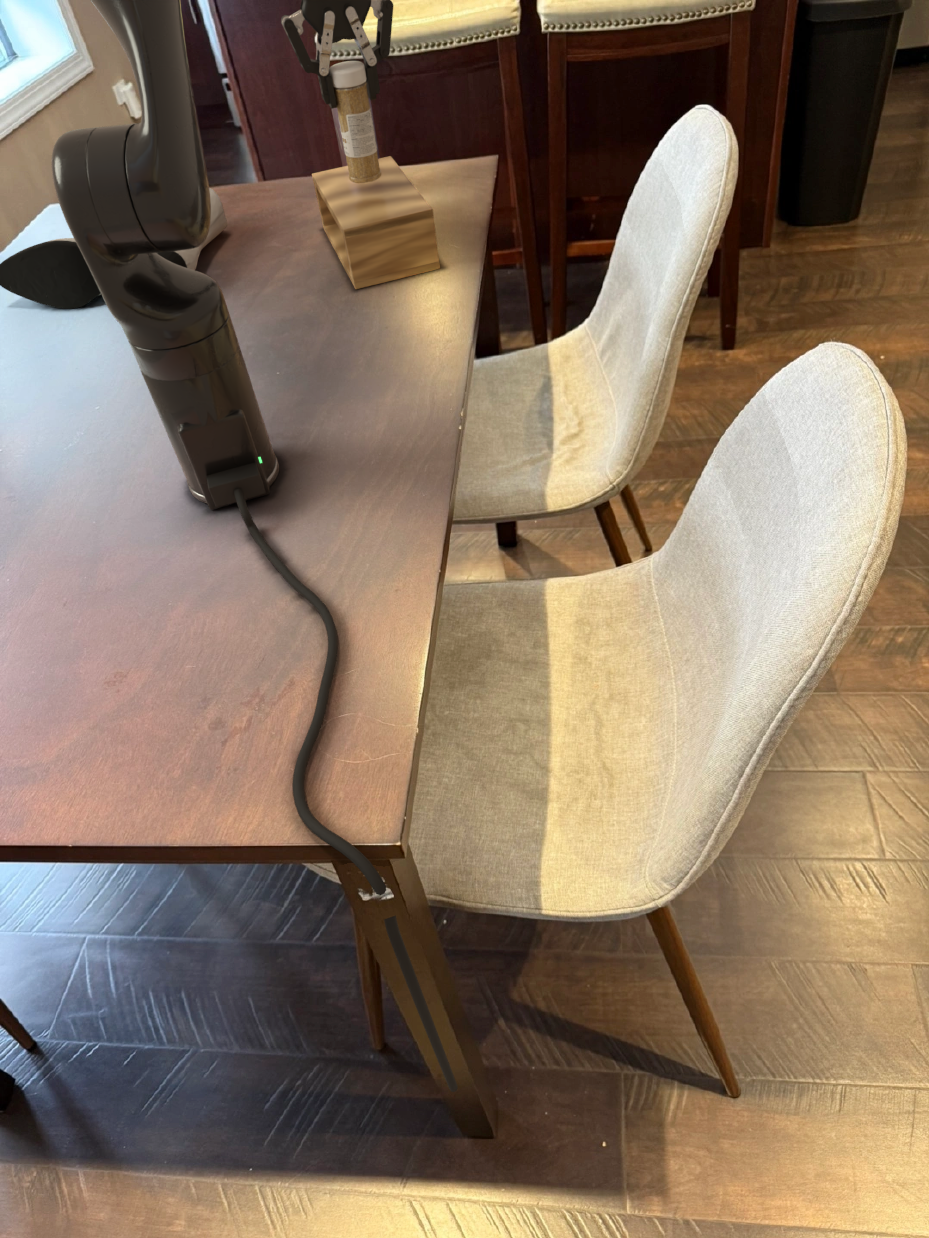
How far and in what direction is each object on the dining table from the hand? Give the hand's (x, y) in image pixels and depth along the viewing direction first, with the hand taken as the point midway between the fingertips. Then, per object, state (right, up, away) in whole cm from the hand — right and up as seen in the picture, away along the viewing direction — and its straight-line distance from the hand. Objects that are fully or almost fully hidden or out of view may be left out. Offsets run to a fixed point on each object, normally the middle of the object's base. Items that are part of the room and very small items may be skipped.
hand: (352, 102), depth 111 cm
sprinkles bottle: (+1, -6, +7) cm, 10 cm away
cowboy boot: (-35, -14, +18) cm, 42 cm away
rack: (+2, -13, +14) cm, 19 cm away
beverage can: (-1, +1, +28) cm, 28 cm away
